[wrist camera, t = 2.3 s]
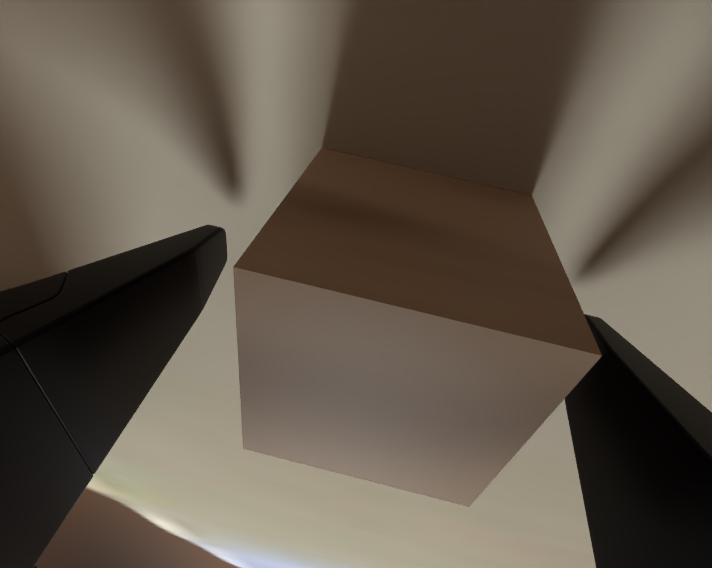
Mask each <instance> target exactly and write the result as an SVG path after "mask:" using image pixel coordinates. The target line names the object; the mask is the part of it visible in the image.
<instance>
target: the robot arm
mask: <svg viewBox="0 0 712 568" xmlns="http://www.w3.org/2000/svg"><path fill="white" fill-rule="evenodd" d="M226 261H227V243H226V232H225V230H224V229H223V228H221V227H217V226H213V225H205V226H202V227H199V228H196V229H193V230H190V231H187V232H184V233H181V234H178V235H175V236H172V237H169V238H166V239H163V240H160V241H157V242H154V243H151V244H148V245H144V246H141V247H138V248H135V249H132V250H129V251H126V252H123V253H120V254H117V255H114V256H111V257H108V258H105V259H102V260H99V261H96V262H93V263H90V264H87V265H84V266H81V267H78V268H75V269H72V270H69V271H68V273H67V272H62V273H59V274H56V275H53V276H50V277H47V278H44V279H41V280H38V281H35V282H32V283H28V284H25V285H22V286H19V287H15V288H12V289H8V290H5V291H1V292H0V568H37V565H35V564H36V562H37V560H38V559H39V558H40V556H41V555H42V553H43V551H44V550H45V548H46V547H47V545H48V544H49V542H50V541H51V539H52V538H53V536H54V535H55V533H56V532H57V530H58V529H59V527H60V526H61V524H62V523H63V521H64V520H65V518H66V516H67V515H68V514H69V512H70V511H71V509H72V508H73V506H74V505H75V503H76V502H77V500H78V499H79V497H80V495H81V494H82V492H83V491H84V489H85V488H86V486H87V485H88V483H89V482H90V480H91V479H92V477H93V474H94V473H95V472H96V471H97V469H98V468H99V466H100V465H101V463H102V462H103V460H104V459H105V457H106V456H107V454H108V453H109V451H110V450H111V448H112V447H113V445H114V444H115V442H116V440H117V439H118V437H119V436H120V434H121V433H122V431H123V430H124V428H125V427H126V425H127V424H128V422H129V421H130V419H131V418H132V416H133V415H134V413H135V412H136V410H137V409H138V407H139V406H140V404H141V403H142V401H143V400H144V398H145V397H146V395H147V394H148V392H149V391H150V389H151V387H152V386H153V384H154V383H155V381H156V380H157V378H158V377H159V375H160V374H161V372H162V371H163V369H164V368H165V366H166V365H167V363H168V362H169V360H170V359H171V357H172V356H173V354H174V353H175V351H176V350H177V348H178V347H179V345H180V344H181V342H182V341H183V339H184V338H185V336H186V334H187V333H188V331H189V330H190V328H191V327H192V325H193V324H194V322H195V321H196V319H197V318H198V316H199V315H200V313H201V311H202V310H203V308H204V306H205V304H206V302H207V300H208V298H209V296H210V294H211V292H212V290H213V288H214V286H215V284H216V282H217V280H218V278H219V276H220V274H221V272H222V270H223V268H224V266H225V264H226ZM584 316H585V318H586V320H587V323H588V325H589V327H590V329H591V332H592V334H593V336H594V339H595V341H596V343H597V345H598V348H599V350H600V352H601V354H602V356H601V358H600V359H599V360H598V361H597V362H596V363H595V364H594V366H593V367H592V368H591V369H590V370H589V371H588V372H587V373H586V375H585V376H584V377H583V378H582V379H581V380H580V381H579V383H578V384H577V385H576V386H575V387H574V388H573V389H572V390H571V392H570V393H569V394H568V395H567V396H566V397H565V403H566V410H567V415H568V420H569V425H570V431H571V436H572V441H573V447H574V452H575V457H576V463H577V468H578V473H579V479H580V484H581V489H582V494H583V500H584V505H585V510H586V516H587V521H588V526H589V532H590V537H591V542H592V548H593V553H594V558H595V563H596V568H712V412H710V411H709V410H708V409H707V408H706V407H705V406H703V405H702V404H701V403H700V402H699V401H698V400H696V399H695V398H694V397H693V396H692V395H690V394H689V393H688V392H687V391H686V390H685V389H683V388H682V387H681V386H680V385H679V384H677V383H676V382H675V381H674V380H673V379H672V378H670V377H669V376H668V375H667V374H666V373H665V372H663V371H662V370H661V369H660V368H659V367H657V366H656V365H655V364H654V363H653V362H652V361H650V360H649V359H648V358H647V357H646V356H644V355H643V354H642V353H641V352H640V351H639V350H637V349H636V348H635V347H634V346H633V345H632V344H630V343H629V342H628V341H627V340H626V339H624V338H623V337H622V336H621V335H620V334H619V333H617V332H616V331H615V330H614V329H613V328H612V327H610V326H609V325H608V324H607V323H606V322H604V321H603V320H602V319H601V318H598V317H594V316H590V315H586V314H584Z"/></svg>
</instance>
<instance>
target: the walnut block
mask: <svg viewBox="0 0 712 568" xmlns="http://www.w3.org/2000/svg"><path fill="white" fill-rule="evenodd" d="M233 269H234V288H235V306H236V325H237V343H238V361H239V380H240V398H241V417H242V435H243V449H247V450H251V451H255V452H259V453H263V454H266V455H270V456H274V457H278V458H282V459H286V460H290V461H294V462H297V463H301V464H305V465H309V466H313V467H317V468H321V469H325V470H328V471H332V472H336V473H340V474H344V475H348V476H352V477H356V478H359V479H363V480H367V481H371V482H375V483H379V484H383V485H387V486H390V487H394V488H398V489H402V490H406V491H410V492H414V493H418V494H421V495H425V496H429V497H433V498H437V499H441V500H445V501H449V502H452V503H456V504H460V505H464V506H468V507H469V506H470V505H471V504H472V503H473V502H474V501H475V499H476V498H477V497H478V496H479V495H480V494H481V493H482V491H483V490H484V489H485V488H486V487H487V486H488V485H489V484H490V482H491V481H492V480H493V479H494V478H495V477H496V476H497V474H498V473H499V472H500V471H501V470H502V469H503V468H504V467H505V465H506V464H507V463H508V462H509V461H510V460H511V459H512V457H513V456H514V455H515V454H516V453H517V452H518V451H519V450H520V448H521V447H522V446H523V445H524V444H525V443H526V442H527V440H528V439H529V438H530V437H531V436H532V435H533V434H534V432H535V431H536V430H537V429H538V428H539V427H540V426H541V425H542V423H543V422H544V421H545V420H546V419H547V418H548V417H549V415H550V414H551V413H552V412H553V411H554V410H555V409H556V408H557V406H558V405H559V404H560V403H561V402H562V401H563V400H564V398H565V397H566V396H567V395H568V394H569V393H570V392H571V390H572V389H573V388H574V387H575V386H576V385H577V384H578V383H579V381H580V380H581V379H582V378H583V377H584V376H585V375H586V373H587V372H588V371H589V370H590V369H591V368H592V367H593V366H594V364H595V363H596V362H597V361H598V360H599V359H600V358H601V356H602V354H601V352H600V350H599V348H598V345H597V343H596V341H595V339H594V336H593V334H592V332H591V329H590V327H589V325H588V323H587V320H586V318H585V316H584V313H583V311H582V309H581V307H580V304H579V302H578V300H577V298H576V295H575V293H574V291H573V288H572V286H571V284H570V282H569V279H568V277H567V275H566V273H565V270H564V268H563V266H562V263H561V261H560V259H559V257H558V254H557V252H556V250H555V248H554V245H553V243H552V241H551V238H550V236H549V234H548V232H547V229H546V227H545V225H544V222H543V220H542V218H541V216H540V213H539V211H538V209H537V207H536V204H535V202H534V200H533V197H532V196H531V195H526V194H522V193H518V192H513V191H509V190H504V189H500V188H496V187H491V186H487V185H482V184H478V183H474V182H469V181H465V180H461V179H456V178H452V177H447V176H443V175H439V174H434V173H430V172H425V171H421V170H417V169H412V168H408V167H404V166H399V165H395V164H390V163H386V162H382V161H377V160H373V159H368V158H364V157H360V156H355V155H351V154H346V153H342V152H338V151H333V150H329V149H325V148H322V149H321V150H320V151H319V153H318V154H317V155H316V157H315V158H314V159H313V161H312V162H311V163H310V165H309V166H308V167H307V169H306V170H305V171H304V173H303V174H302V175H301V177H300V178H299V179H298V181H297V182H296V183H295V185H294V186H293V187H292V189H291V190H290V192H289V193H288V194H287V196H286V197H285V198H284V200H283V201H282V202H281V204H280V205H279V206H278V208H277V209H276V210H275V212H274V213H273V214H272V216H271V217H270V218H269V220H268V221H267V222H266V224H265V225H264V226H263V228H262V229H261V231H260V232H259V233H258V235H257V236H256V237H255V239H254V240H253V241H252V243H251V244H250V245H249V247H248V248H247V249H246V251H245V252H244V253H243V255H242V256H241V257H240V259H239V260H238V261H237V263H236V264H235V265H234V267H233Z"/></svg>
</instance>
